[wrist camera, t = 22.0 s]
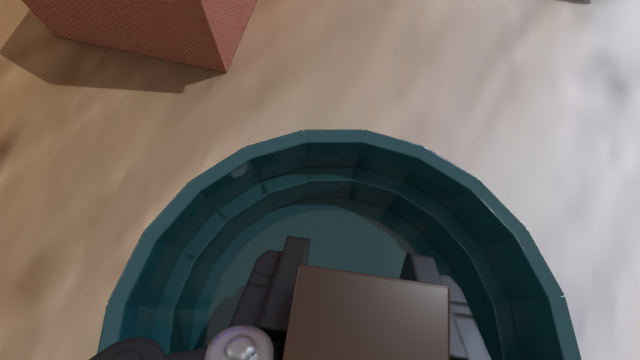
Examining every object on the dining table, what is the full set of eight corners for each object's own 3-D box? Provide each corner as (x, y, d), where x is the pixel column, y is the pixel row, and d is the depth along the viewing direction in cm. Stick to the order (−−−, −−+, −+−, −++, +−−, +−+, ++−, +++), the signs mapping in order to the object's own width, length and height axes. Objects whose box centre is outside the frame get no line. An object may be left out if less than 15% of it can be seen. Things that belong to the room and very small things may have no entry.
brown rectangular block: (368, 380, 14) (451, 479, 5) (295, 368, 14) (267, 448, 6) (374, 302, 15) (451, 285, 7) (306, 292, 15) (296, 262, 7)
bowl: (206, 616, 12) (129, 840, 7) (144, 230, 17) (71, 196, 12) (558, 450, 14) (698, 529, 9) (411, 147, 19) (447, 87, 14)
